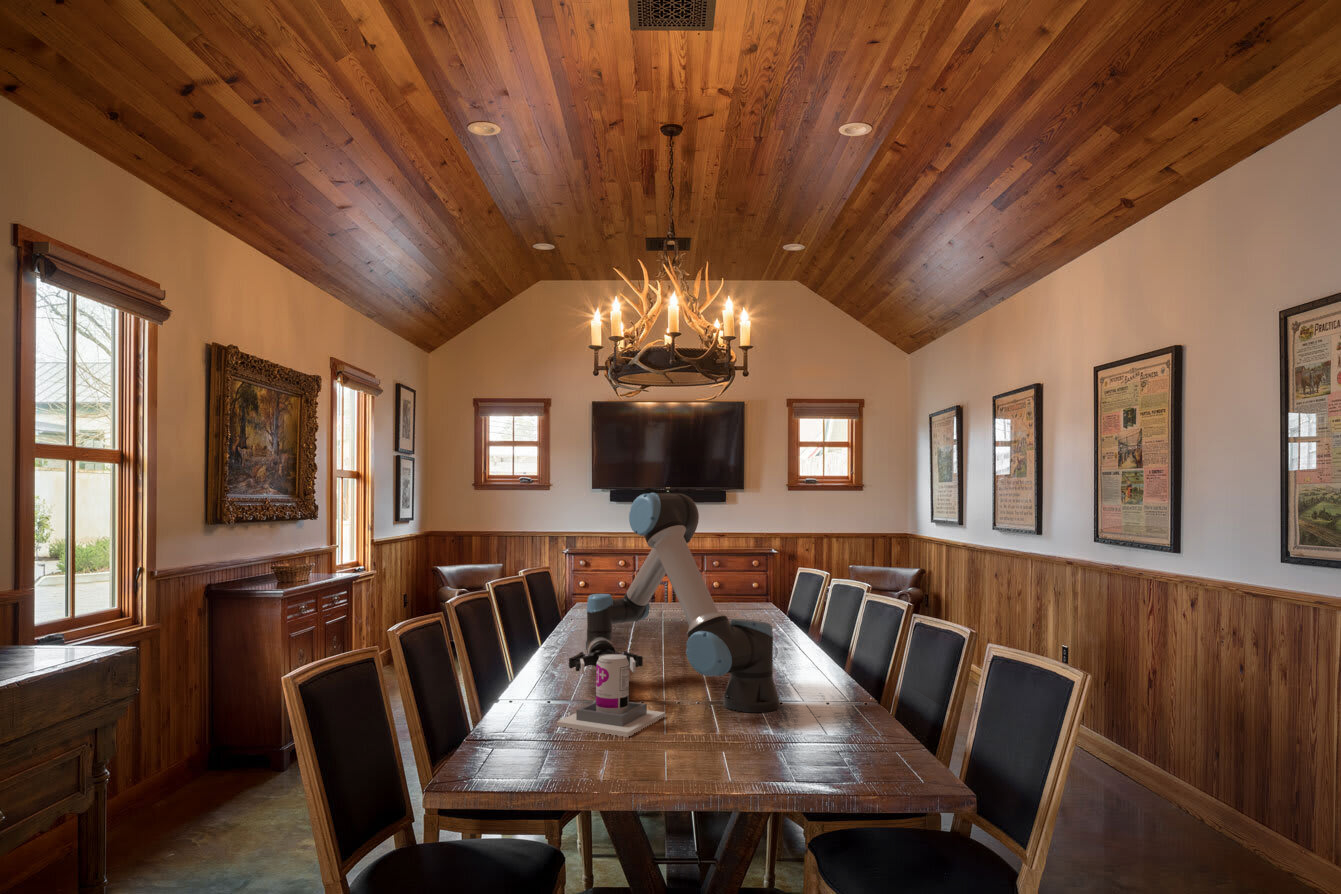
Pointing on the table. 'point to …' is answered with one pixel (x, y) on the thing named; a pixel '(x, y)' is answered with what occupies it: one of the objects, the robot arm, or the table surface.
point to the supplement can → (612, 684)
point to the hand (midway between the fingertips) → (608, 668)
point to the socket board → (612, 720)
